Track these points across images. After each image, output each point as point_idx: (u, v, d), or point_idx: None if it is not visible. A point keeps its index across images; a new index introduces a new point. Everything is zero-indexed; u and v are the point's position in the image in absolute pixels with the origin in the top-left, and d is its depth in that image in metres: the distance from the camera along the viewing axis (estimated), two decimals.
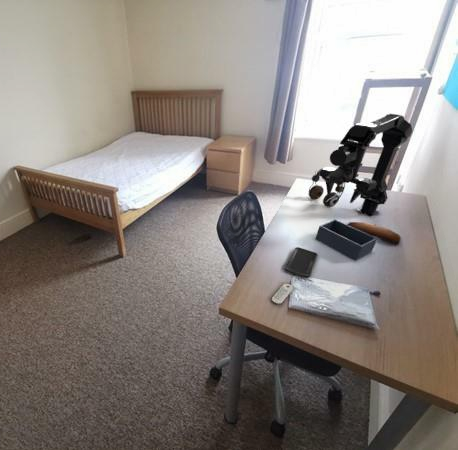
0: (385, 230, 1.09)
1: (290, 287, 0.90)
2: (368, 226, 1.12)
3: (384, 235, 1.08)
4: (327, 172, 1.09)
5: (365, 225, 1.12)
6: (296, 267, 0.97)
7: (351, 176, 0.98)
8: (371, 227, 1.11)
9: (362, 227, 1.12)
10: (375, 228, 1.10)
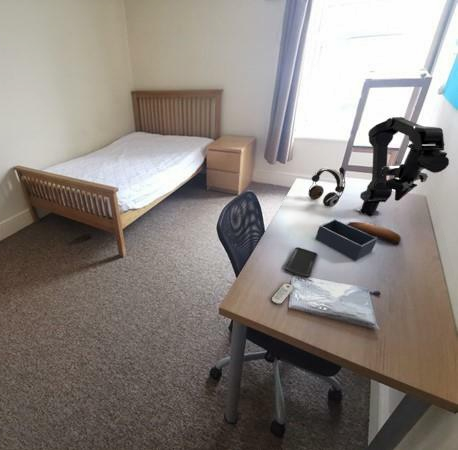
0: (385, 230, 1.09)
1: (290, 287, 0.90)
2: (368, 226, 1.12)
3: (384, 235, 1.08)
4: None
5: (365, 225, 1.12)
6: (296, 267, 0.97)
7: (387, 169, 1.07)
8: (371, 227, 1.11)
9: (362, 227, 1.12)
10: (375, 228, 1.10)
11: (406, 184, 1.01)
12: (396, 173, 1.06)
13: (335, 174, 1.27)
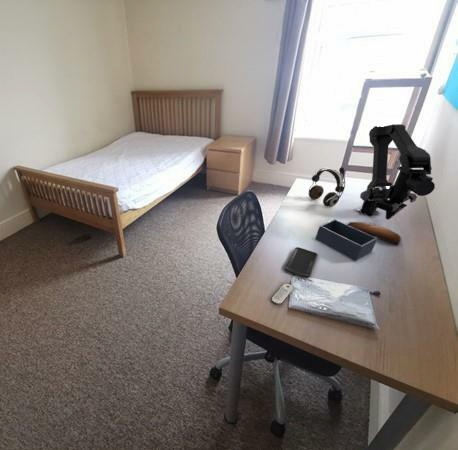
0: (385, 230, 1.09)
1: (290, 287, 0.90)
2: (368, 226, 1.12)
3: (384, 235, 1.08)
4: None
5: (365, 225, 1.12)
6: (296, 267, 0.97)
7: (378, 190, 1.12)
8: (371, 227, 1.11)
9: (362, 227, 1.12)
10: (375, 228, 1.10)
11: (395, 205, 1.06)
12: (386, 194, 1.11)
13: (335, 174, 1.27)
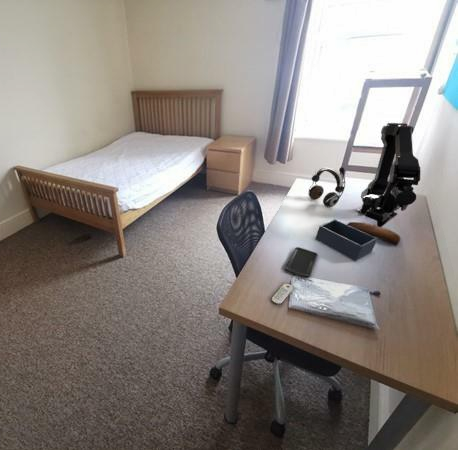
0: (385, 230, 1.09)
1: (290, 287, 0.90)
2: (368, 226, 1.12)
3: (383, 235, 1.08)
4: None
5: (365, 225, 1.12)
6: (296, 267, 0.97)
7: (368, 199, 1.11)
8: (371, 227, 1.11)
9: (362, 227, 1.12)
10: (375, 228, 1.10)
11: (386, 215, 1.05)
12: (377, 203, 1.10)
13: (335, 174, 1.27)
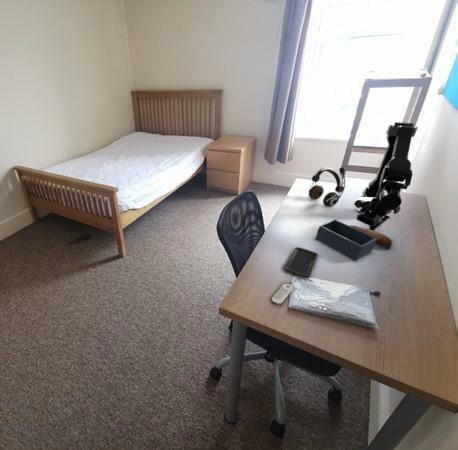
0: (377, 234, 1.07)
1: (290, 287, 0.90)
2: (360, 229, 1.10)
3: None
4: None
5: (357, 228, 1.11)
6: (296, 267, 0.97)
7: (360, 202, 1.09)
8: (363, 230, 1.09)
9: None
10: (367, 232, 1.08)
11: (377, 219, 1.03)
12: (369, 206, 1.08)
13: (335, 174, 1.27)
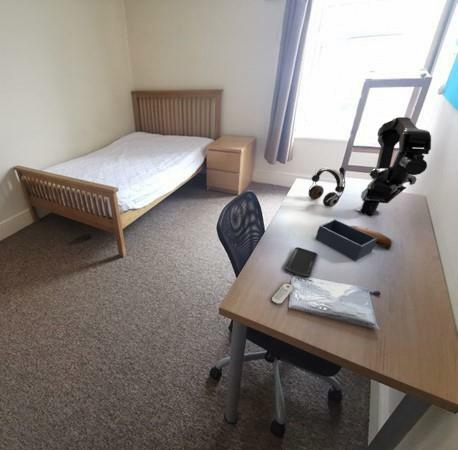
0: (376, 234, 1.07)
1: (290, 287, 0.90)
2: None
3: None
4: None
5: None
6: (296, 267, 0.97)
7: (376, 172, 1.08)
8: (363, 231, 1.09)
9: None
10: (366, 232, 1.08)
11: (394, 187, 1.02)
12: (385, 176, 1.06)
13: (335, 174, 1.27)
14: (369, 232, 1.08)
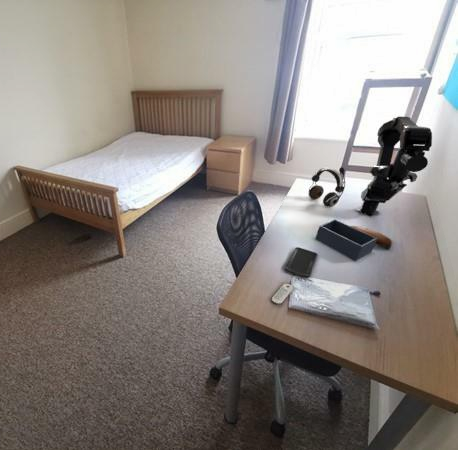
0: (376, 234, 1.07)
1: (290, 287, 0.90)
2: None
3: None
4: None
5: None
6: (296, 267, 0.97)
7: (376, 169, 1.07)
8: (363, 231, 1.09)
9: None
10: (366, 232, 1.08)
11: (395, 184, 1.01)
12: (385, 173, 1.06)
13: (335, 174, 1.27)
14: (369, 232, 1.08)
